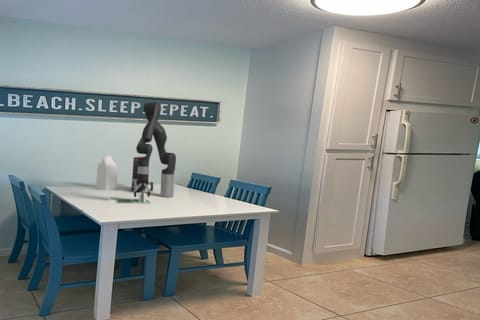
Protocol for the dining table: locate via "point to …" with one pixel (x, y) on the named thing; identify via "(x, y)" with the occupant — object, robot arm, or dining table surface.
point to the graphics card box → (135, 170)
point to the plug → (142, 197)
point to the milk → (106, 174)
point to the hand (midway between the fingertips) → (141, 196)
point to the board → (131, 201)
